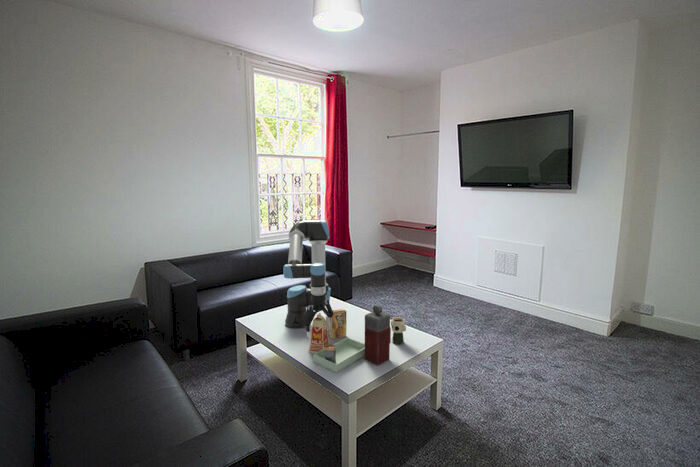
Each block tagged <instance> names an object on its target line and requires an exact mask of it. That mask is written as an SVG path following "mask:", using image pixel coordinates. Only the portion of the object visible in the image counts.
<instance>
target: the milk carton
mask: <svg viewBox="0 0 700 467" xmlns="http://www.w3.org/2000/svg"><path fill="white" fill-rule="evenodd" d="M311 327H312V338H310V344H309V348H308V353H311V354H315V353H317V352H319V351H321V350H323V349H324V347H325V346H326V345H329V344H330V342H329V334H328V329H327V325H326V317H324V316H323V315H322V314H321V312H318V313H317V314H316V317H314V318H313V320H312V323H311Z"/></svg>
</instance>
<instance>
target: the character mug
mask: <svg viewBox="0 0 700 467" xmlns="http://www.w3.org/2000/svg"><path fill="white" fill-rule="evenodd" d="M390 328H391V332H393V333H392V337H391V338H392V340H391V341H392V342H391V343H394V344H396V345H397V344H402V343H404V342H405V341H404V332H407V326H406V320H405V318H403V317H399V316H397V317H395V316H394V317H393V318H392V319H390Z"/></svg>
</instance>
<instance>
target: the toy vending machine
mask: <svg viewBox="0 0 700 467" xmlns="http://www.w3.org/2000/svg"><path fill="white" fill-rule="evenodd" d="M391 332H392V328H391V315H390V314H388V313H385V312H383V308H382V306H381V304H376V305H374V306H372V311H371V312H369V313H366V314H365V315H364V344H365V356H364V360H365V361H367V362H369V363H372V364H373V365H375V366H380V365H382V364H384V363H386V362H388V361H389V360H390V353H391V352H390V348H391V347H390V344H391V343H392V342H391V341H392V340H391V338H392V337H391V336H392V334H391Z"/></svg>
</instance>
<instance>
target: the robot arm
mask: <svg viewBox="0 0 700 467" xmlns="http://www.w3.org/2000/svg"><path fill="white" fill-rule="evenodd" d="M288 233H289V234H288V239H289V248H288V249H289V250H288V258H287V260H288V261H287V263H286V264H284V265H283V274H282V275H283V278H285V279H291V280H293V279H310V284H309V288H308V287H307V286H306V285H305V284H304V285H303V284H300V285H295V286H294V285H293V286H292V287H289V288H288V290H287V291H286V292H287V295H286V298H287V313H286V317H285V320H284V322H285V323H284V324H285V326H286V327H287V328H291V329H292V328H293V329H300V328H304V327H305V332H306V337H307V338H310V339H311V338H312V323H313V320H314V319H315V316H316V315H318V313H320V312H322V313H323V314H325V320H326V325H327V331H328V330H329V331H330V323H331V318H332V317H333V316H332V315H334V313H333V308H332V306H331V304H330V298H331V289H332V288H331V287H329V284H328V283H327V280H326V279H327V277H326V276H327V274H326V273H327V272H326V244H327V242H328V239H330V228H329V223H328V221H327V220H324V219H317V220H315V219H314V220H301V221H297V222H296V223H295V224H294V225H293V226H292V227H291V228H290V230H289V232H288ZM306 239H307V240H308V242H309V243H310V244H311V263H302V262H303V246H304V245H303V243H304V241H305V240H306Z"/></svg>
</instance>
